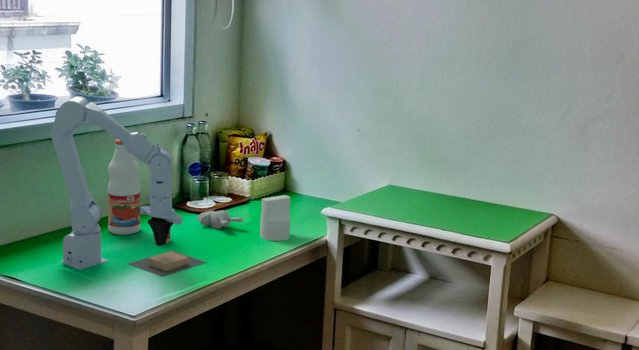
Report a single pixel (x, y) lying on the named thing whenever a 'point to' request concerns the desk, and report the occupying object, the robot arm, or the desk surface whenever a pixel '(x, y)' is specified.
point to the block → (168, 261)
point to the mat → (144, 266)
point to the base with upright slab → (275, 218)
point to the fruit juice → (123, 192)
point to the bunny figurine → (217, 219)
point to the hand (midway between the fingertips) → (160, 244)
